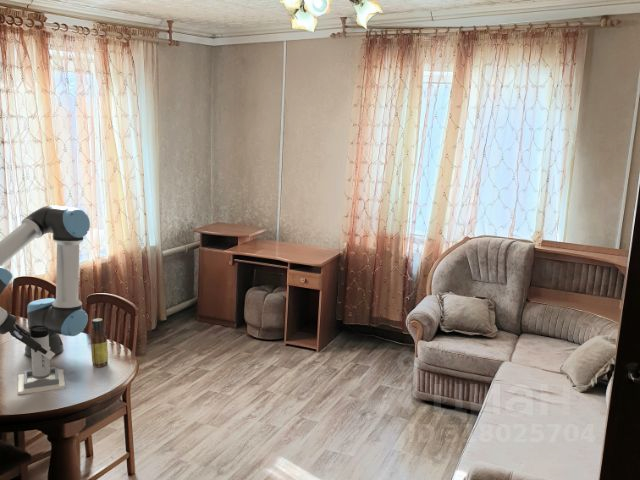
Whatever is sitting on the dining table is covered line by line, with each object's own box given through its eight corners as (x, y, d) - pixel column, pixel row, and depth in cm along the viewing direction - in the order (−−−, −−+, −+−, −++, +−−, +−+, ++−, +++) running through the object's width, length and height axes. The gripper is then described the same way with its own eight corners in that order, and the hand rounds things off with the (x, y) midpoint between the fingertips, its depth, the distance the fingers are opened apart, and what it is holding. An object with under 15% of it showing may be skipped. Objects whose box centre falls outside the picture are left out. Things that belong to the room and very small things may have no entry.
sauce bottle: (111, 363, 251) (110, 318, 247) (101, 369, 246) (99, 323, 241) (98, 360, 253) (97, 316, 249) (88, 366, 248) (86, 320, 244)
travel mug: (35, 372, 234) (32, 323, 229) (52, 372, 234) (50, 324, 230) (28, 379, 227) (26, 329, 223) (46, 379, 228) (44, 329, 224)
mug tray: (18, 376, 235) (18, 369, 234) (62, 371, 242) (62, 364, 241) (18, 394, 221) (17, 387, 220) (65, 387, 228) (64, 380, 227)
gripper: (-12, 320, 225) (37, 352, 238) (-3, 337, 210) (49, 370, 223) (3, 305, 227) (51, 337, 240) (13, 320, 212) (63, 354, 225)
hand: (50, 353), depth 231 cm, fingers closed on travel mug, 6 cm apart
